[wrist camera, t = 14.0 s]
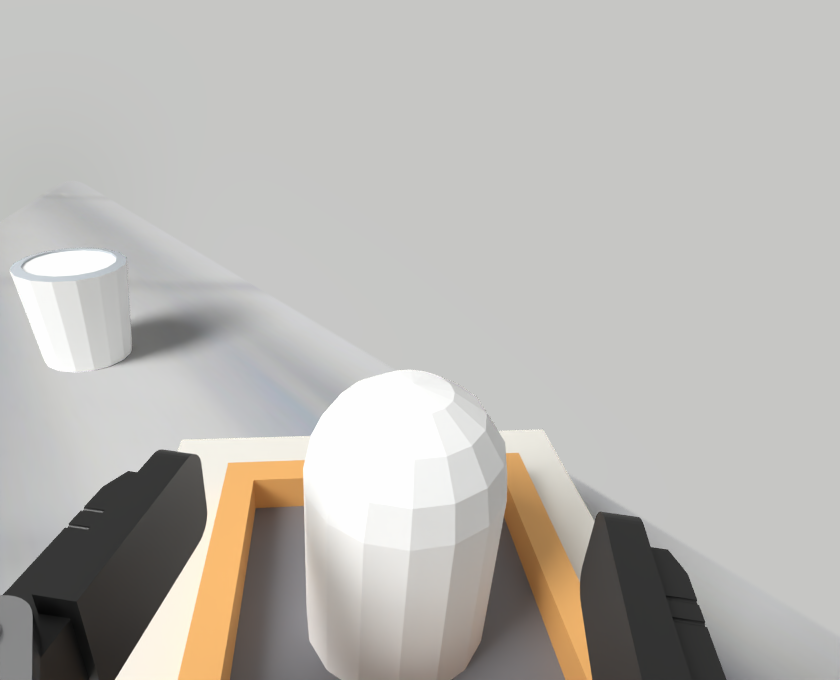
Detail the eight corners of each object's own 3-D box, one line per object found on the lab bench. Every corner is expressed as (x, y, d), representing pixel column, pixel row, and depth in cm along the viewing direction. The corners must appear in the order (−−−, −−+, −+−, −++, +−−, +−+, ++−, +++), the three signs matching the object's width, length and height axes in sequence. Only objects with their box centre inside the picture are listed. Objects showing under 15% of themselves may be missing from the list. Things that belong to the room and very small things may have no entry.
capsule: (454, 731, 14) (497, 483, 11) (270, 655, 16) (252, 412, 12) (500, 572, 19) (541, 360, 15) (354, 524, 20) (359, 319, 17)
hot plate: (507, 485, 32) (528, 369, 29) (753, 1085, 14) (893, 958, 10) (207, 498, 29) (192, 373, 26) (10, 1261, 11) (-130, 1167, 8)
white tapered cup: (15, 354, 41) (-11, 261, 38) (109, 324, 46) (93, 239, 43) (65, 388, 38) (41, 288, 34) (160, 351, 43) (147, 262, 40)
